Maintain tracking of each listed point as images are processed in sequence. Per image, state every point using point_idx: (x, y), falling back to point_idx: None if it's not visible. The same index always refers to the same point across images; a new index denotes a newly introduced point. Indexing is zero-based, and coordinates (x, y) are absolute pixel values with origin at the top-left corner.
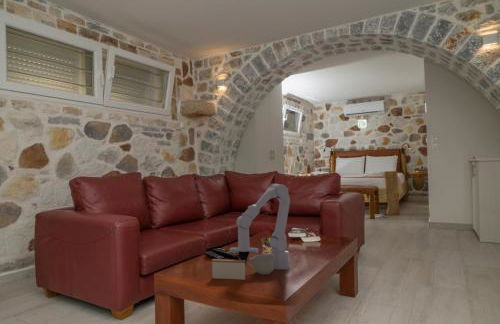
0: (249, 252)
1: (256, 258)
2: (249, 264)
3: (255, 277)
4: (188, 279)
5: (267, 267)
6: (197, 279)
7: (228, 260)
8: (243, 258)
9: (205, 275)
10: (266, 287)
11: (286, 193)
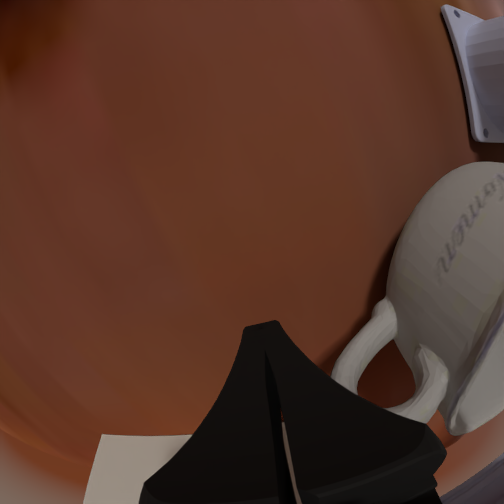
0: (438, 461)
1: (480, 289)
2: (358, 376)
3: (386, 368)
4: (43, 447)
5: (500, 347)
6: (68, 450)
7: None
8: (287, 464)
9: (45, 412)
10: (431, 424)
11: None
